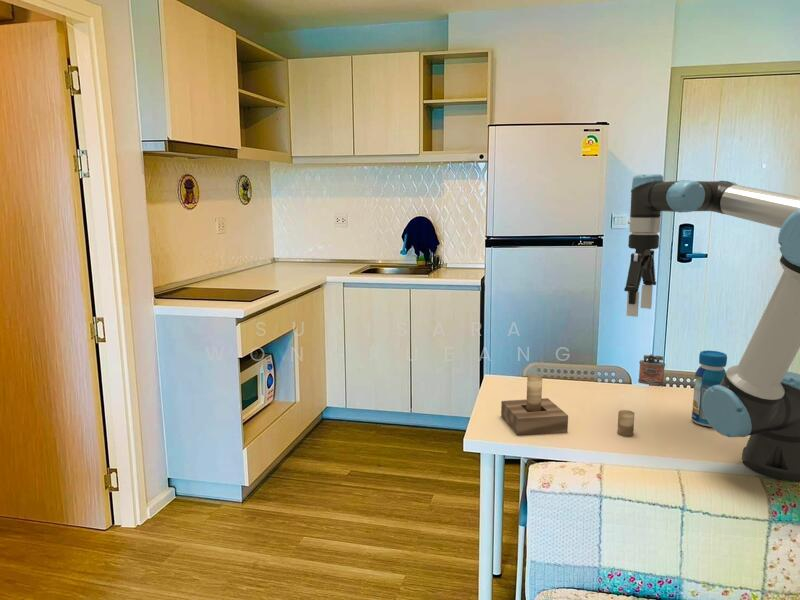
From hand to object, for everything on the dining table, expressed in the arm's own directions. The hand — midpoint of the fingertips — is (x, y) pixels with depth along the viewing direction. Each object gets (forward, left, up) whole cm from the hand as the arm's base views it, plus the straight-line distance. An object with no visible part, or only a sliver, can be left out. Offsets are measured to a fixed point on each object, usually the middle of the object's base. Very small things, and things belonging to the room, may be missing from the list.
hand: (639, 312), depth 160 cm
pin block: (+3, +28, -32) cm, 42 cm away
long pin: (+3, +28, -32) cm, 42 cm away
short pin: (-7, +6, -32) cm, 33 cm away
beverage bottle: (-3, -21, -32) cm, 38 cm away
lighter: (+32, -25, -32) cm, 52 cm away
